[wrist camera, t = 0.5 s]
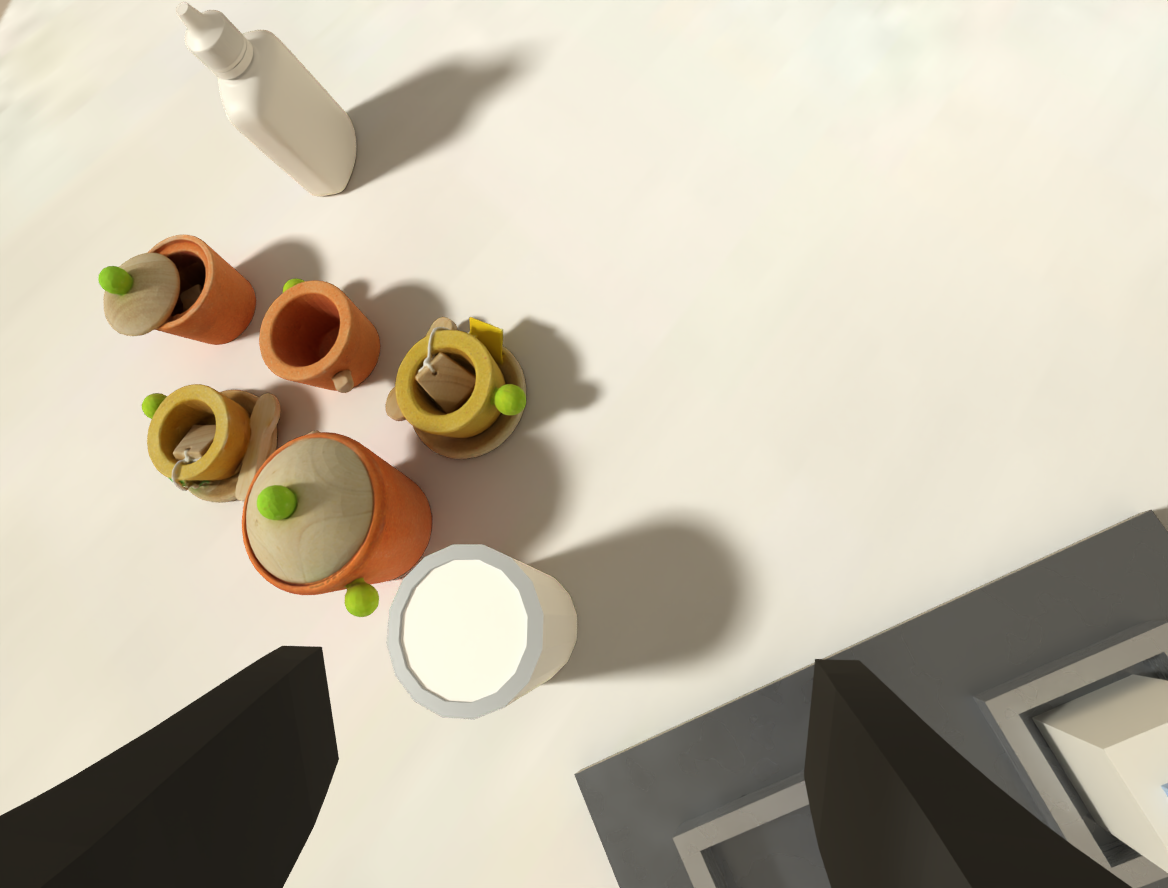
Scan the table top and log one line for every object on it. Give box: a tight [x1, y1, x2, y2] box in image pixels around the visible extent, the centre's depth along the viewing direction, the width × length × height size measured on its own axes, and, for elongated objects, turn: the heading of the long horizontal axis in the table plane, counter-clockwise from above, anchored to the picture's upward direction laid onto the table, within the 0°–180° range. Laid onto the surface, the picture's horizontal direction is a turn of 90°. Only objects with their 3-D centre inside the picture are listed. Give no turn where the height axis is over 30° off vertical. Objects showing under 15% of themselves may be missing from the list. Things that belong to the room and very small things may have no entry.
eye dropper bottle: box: [176, 2, 356, 197], centre depth 40 cm, size 4×6×12 cm
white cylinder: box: [387, 544, 578, 719], centre depth 32 cm, size 7×7×7 cm
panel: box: [574, 510, 1168, 888], centre depth 28 cm, size 14×26×3 cm, turn 115°
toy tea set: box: [99, 235, 526, 617], centre depth 37 cm, size 26×16×10 cm, turn 66°
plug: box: [1032, 674, 1168, 873], centre depth 24 cm, size 4×4×8 cm
